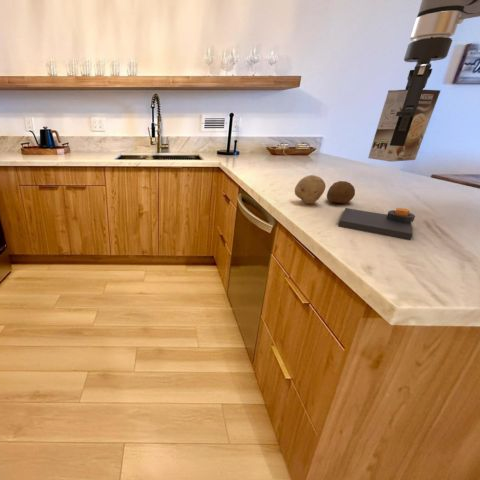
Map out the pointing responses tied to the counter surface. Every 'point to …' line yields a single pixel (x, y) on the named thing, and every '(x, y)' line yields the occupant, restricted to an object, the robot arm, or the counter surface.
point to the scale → (378, 223)
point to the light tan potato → (310, 189)
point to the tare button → (402, 211)
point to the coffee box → (389, 121)
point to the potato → (341, 192)
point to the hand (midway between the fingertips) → (396, 143)
